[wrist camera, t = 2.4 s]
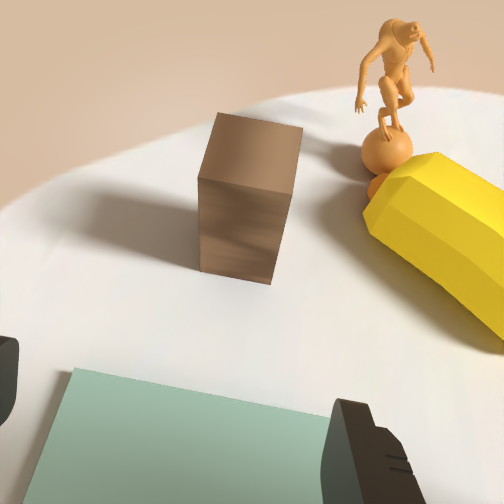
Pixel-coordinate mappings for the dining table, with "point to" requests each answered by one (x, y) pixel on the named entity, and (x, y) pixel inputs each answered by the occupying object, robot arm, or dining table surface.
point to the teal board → (174, 448)
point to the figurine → (391, 95)
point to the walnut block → (245, 196)
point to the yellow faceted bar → (445, 229)
